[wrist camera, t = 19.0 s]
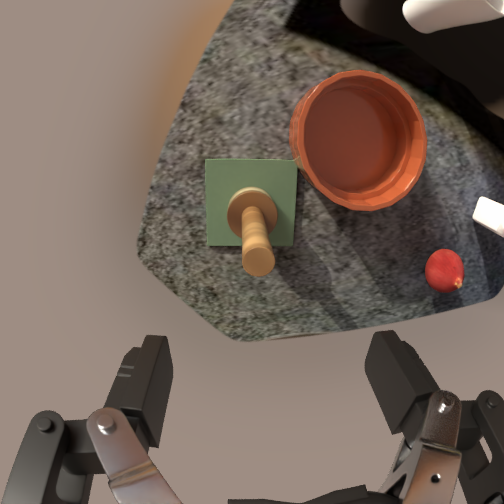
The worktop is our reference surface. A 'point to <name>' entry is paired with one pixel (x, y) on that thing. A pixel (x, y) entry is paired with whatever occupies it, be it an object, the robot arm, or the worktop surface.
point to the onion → (444, 271)
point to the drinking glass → (450, 13)
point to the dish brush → (254, 228)
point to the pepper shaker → (490, 215)
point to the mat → (249, 175)
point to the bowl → (359, 140)
